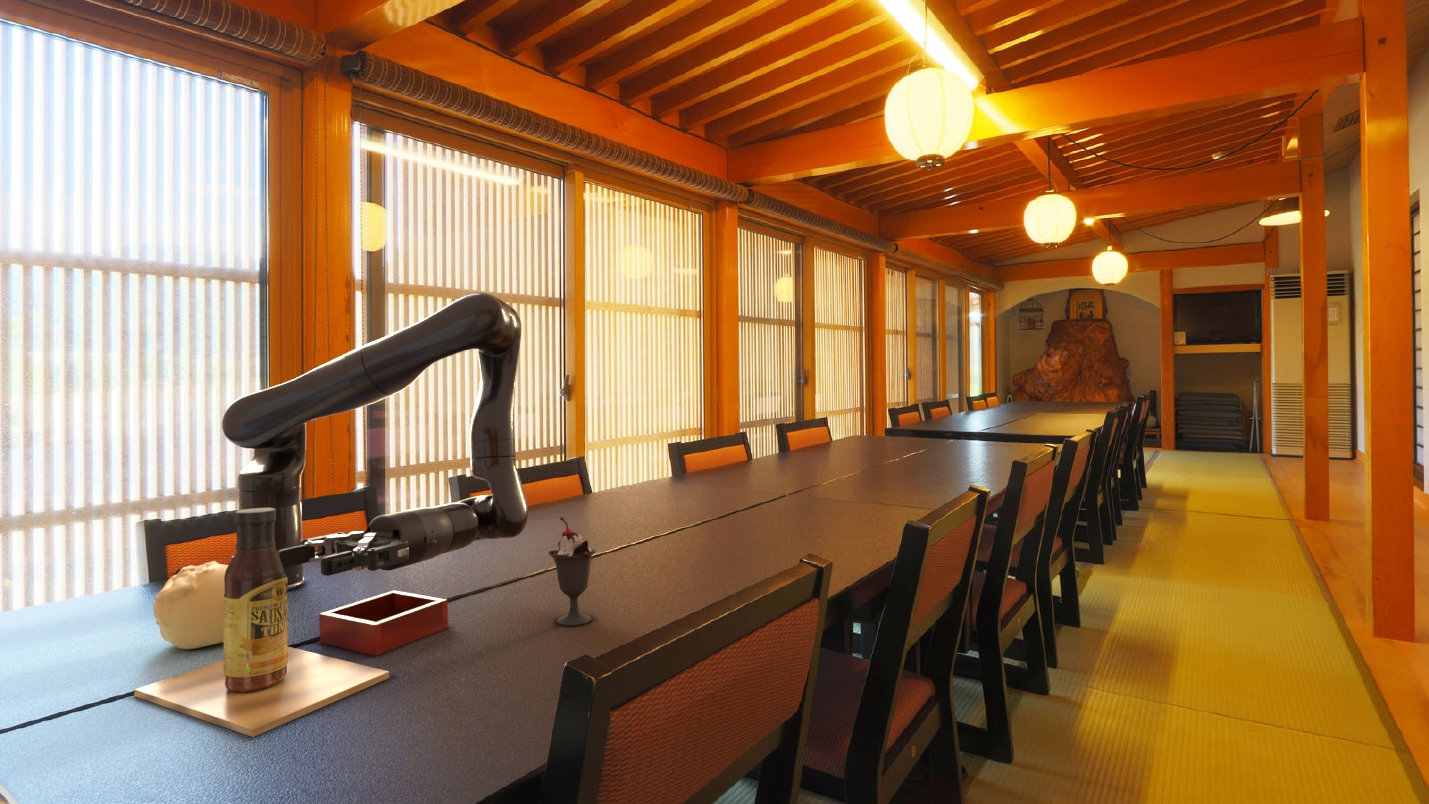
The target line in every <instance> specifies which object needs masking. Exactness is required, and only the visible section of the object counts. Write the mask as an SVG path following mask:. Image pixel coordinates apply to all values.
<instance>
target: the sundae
mask: <svg viewBox="0 0 1429 804" xmlns="http://www.w3.org/2000/svg"><path fill="white" fill-rule="evenodd" d="M560 520H561V521H562V522H563V523H564V525H565V530H564V531H563V532H562V533H561V539H560V540H559V541H558V543H557V545H556V549H553V550H550V551H549V552H548V555H549V556H550V557H551V558H552V559H553V560H554V563H555V568H556V575H557V576H556V577H557V583H558V586H559V589H560V591H561V592H562V593H563V594H564V595H565V596H567V597H568V598H569V610H568V613H567V614H565V615H562V616H560V617H558V618H557V620H556V622H557V624H559V625H560V626H566V627H576V626H582V625H585V624H588V623H590V622H591V621H592V617H591V615H589V614H586V613H582V612H581V611H580V608H579V597H580V596H581V595H582V594H583V593H585V591H586V589H587V588H588V585H589V579H590V572H591V562H592V556H593V555H594V554H596V552H597V549H596V548H590V546H589V540H587V539H585V538H583V536H582V535H581V534H579V533H578V532H574V531H573V529H571V528H569V525H568V523H567V521H566V520H565V518H564V517H563V516H560V517H559V521H560Z"/></svg>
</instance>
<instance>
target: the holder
mask: <svg viewBox="0 0 1429 804" xmlns="http://www.w3.org/2000/svg"><path fill="white" fill-rule="evenodd" d="M448 609H449V608H448V599H445V598H439V597H433V596H429V595H424V594H423V595H422V594H418V593H412V592H405V591H401V590H400V591H399V590H391V591H388V592H385V593H381V594H378V595H374V596H372V597H368V598H365V599H362V600H359V601H356V602H353V603H350V604H346V605H343V606H340V607H337V608H334V609H330V610H326V611H324V612H320V613H319V614H318V615H319V616H318V617H319V620H318V621H319V643H320V644H323V645H328V646H331V647H336V648H339V649H343V650H344V649H345V650H348V651H352V652H356V653H362V654H366V655H370V656H373V657H376V656H379V655H382V654H385V653H386V652H389V651H392V650H395V649H397V648H400V647H402V646H404V645H407V644H409V643H412V642H414V641H417V640H420V639H422V638H425V637H427V636H429V635H433V634H435V633H438V632H440V631H442V630H445V629H447V628H449V611H448Z"/></svg>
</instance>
